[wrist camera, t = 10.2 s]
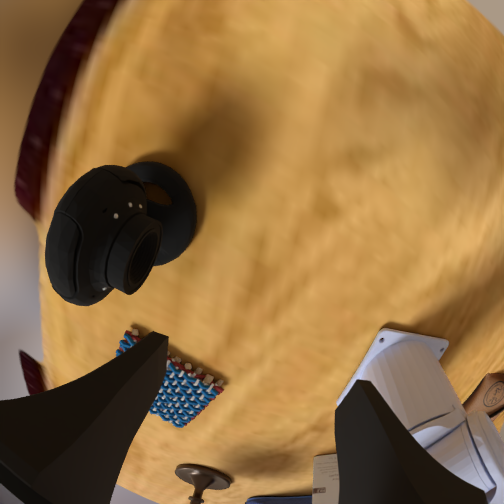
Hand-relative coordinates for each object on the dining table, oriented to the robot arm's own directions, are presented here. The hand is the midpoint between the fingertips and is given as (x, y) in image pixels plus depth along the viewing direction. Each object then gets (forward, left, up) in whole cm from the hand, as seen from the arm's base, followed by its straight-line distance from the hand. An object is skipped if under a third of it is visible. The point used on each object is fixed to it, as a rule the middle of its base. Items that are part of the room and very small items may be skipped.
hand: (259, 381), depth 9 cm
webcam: (+2, +10, -11) cm, 14 cm away
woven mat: (-15, +8, -11) cm, 20 cm away
